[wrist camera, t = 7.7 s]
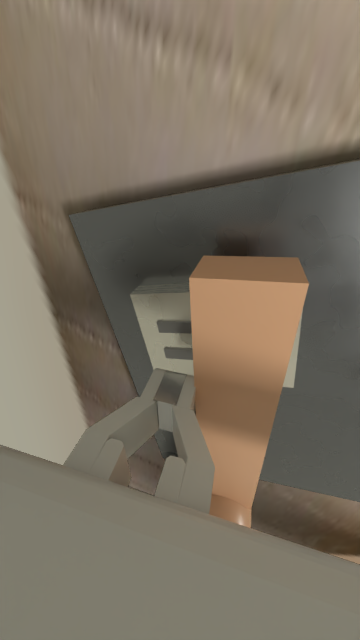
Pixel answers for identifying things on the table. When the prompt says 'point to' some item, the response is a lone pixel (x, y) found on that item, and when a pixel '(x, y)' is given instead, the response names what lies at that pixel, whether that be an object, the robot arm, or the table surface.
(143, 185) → the table surface
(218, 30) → the table surface
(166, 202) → the label panel
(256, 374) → the swing bar
